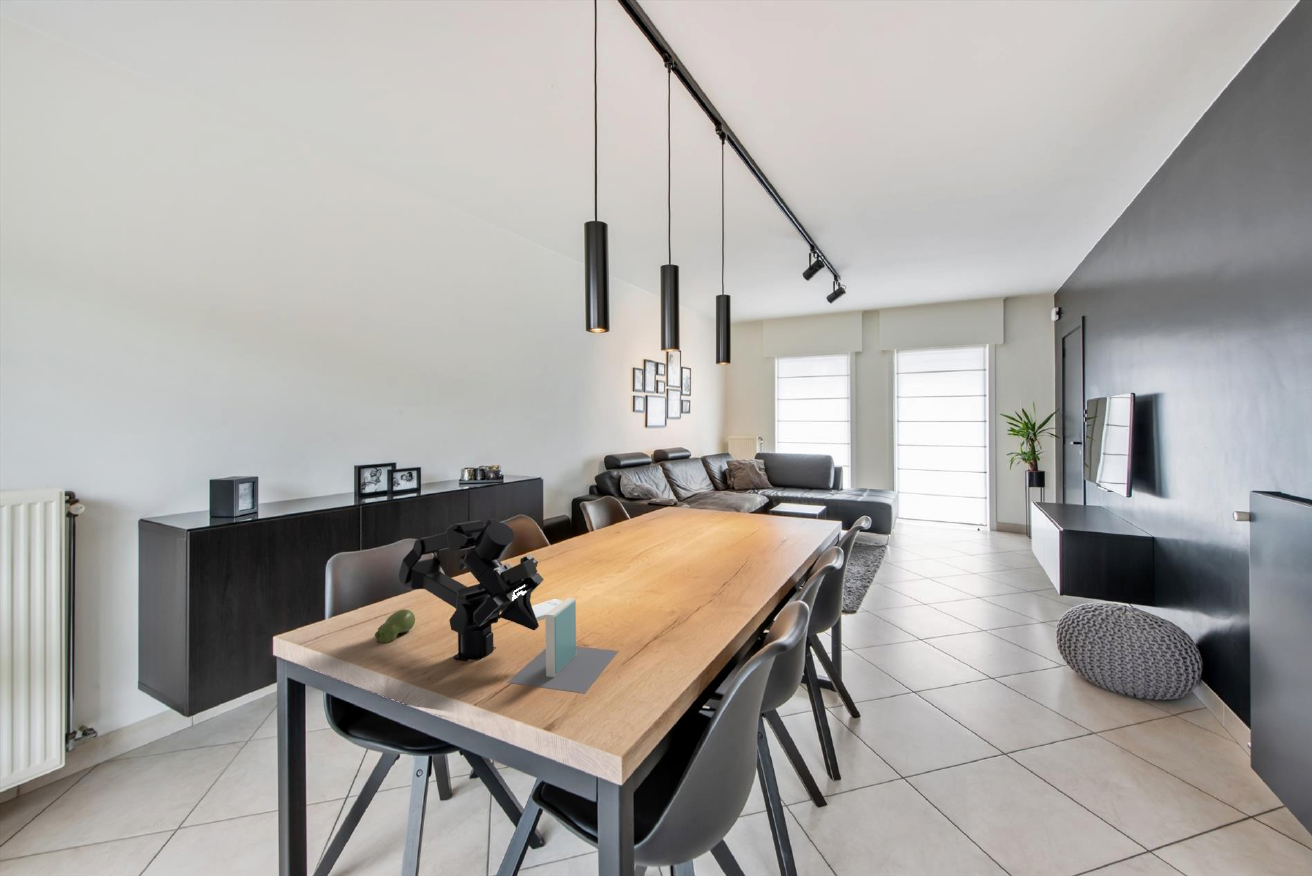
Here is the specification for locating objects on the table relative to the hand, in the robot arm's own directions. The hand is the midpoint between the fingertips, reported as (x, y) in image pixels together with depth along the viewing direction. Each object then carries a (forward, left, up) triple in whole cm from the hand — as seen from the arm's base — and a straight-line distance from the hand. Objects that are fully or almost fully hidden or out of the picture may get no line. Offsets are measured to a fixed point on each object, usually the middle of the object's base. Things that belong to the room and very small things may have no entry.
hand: (536, 628), depth 102 cm
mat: (+6, 0, -8) cm, 10 cm away
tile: (+5, 0, -7) cm, 9 cm away
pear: (-41, +6, -8) cm, 42 cm away
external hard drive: (-13, +29, -8) cm, 33 cm away
